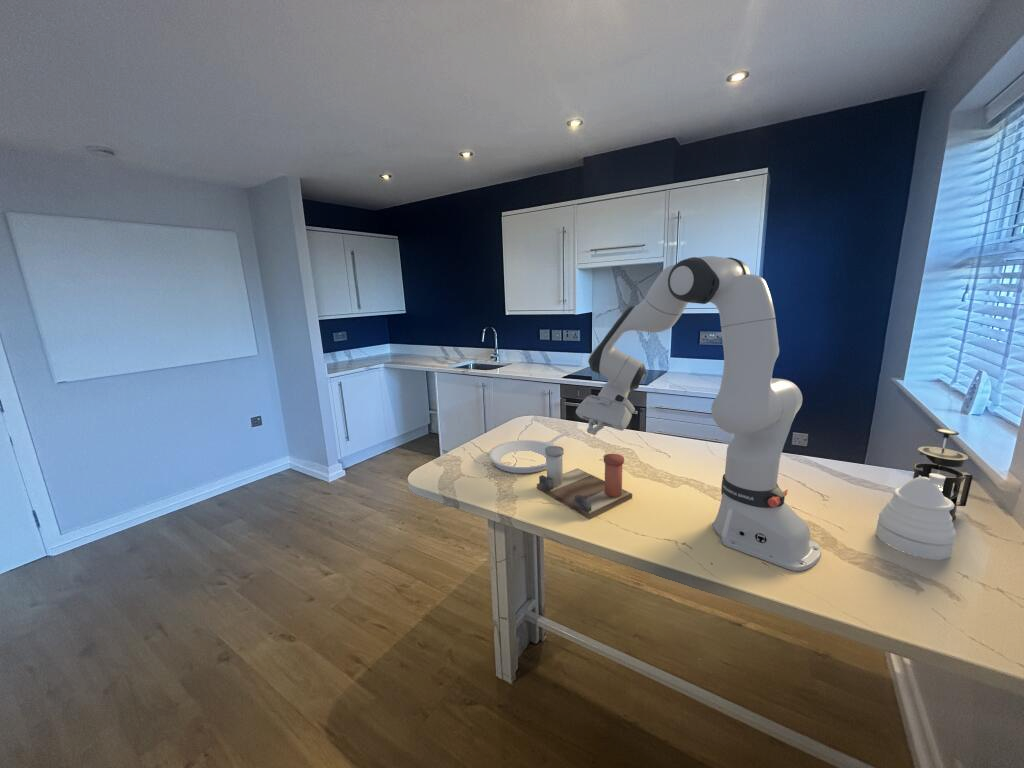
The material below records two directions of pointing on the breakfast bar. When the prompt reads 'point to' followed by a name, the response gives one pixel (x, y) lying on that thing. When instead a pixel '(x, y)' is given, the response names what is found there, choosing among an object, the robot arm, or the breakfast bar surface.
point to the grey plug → (554, 464)
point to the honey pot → (919, 519)
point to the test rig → (582, 493)
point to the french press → (942, 460)
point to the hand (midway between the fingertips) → (590, 433)
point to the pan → (521, 445)
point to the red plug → (613, 474)
